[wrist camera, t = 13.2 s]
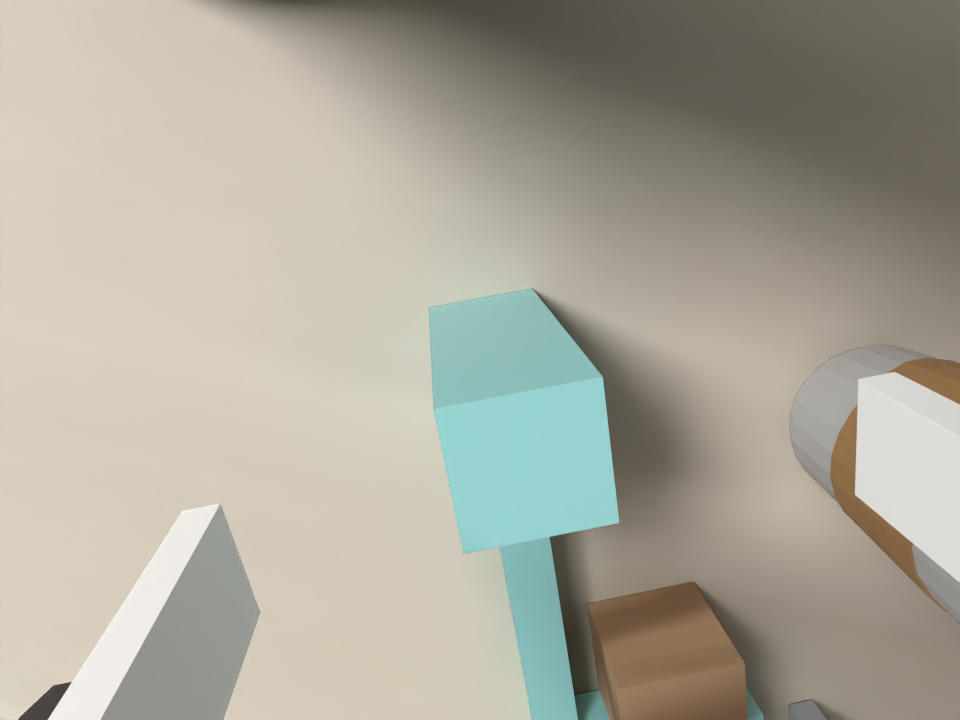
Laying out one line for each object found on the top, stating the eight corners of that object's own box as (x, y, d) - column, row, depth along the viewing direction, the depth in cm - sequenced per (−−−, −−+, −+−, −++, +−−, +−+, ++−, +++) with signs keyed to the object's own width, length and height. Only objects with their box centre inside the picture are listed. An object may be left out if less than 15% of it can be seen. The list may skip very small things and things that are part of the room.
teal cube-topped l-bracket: (428, 307, 24) (433, 408, 15) (711, 255, 25) (893, 321, 15) (515, 739, 31) (555, 995, 22) (733, 694, 32) (866, 927, 22)
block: (586, 602, 29) (618, 689, 25) (693, 580, 29) (744, 663, 25) (598, 686, 31) (630, 783, 26) (699, 665, 31) (749, 758, 26)
